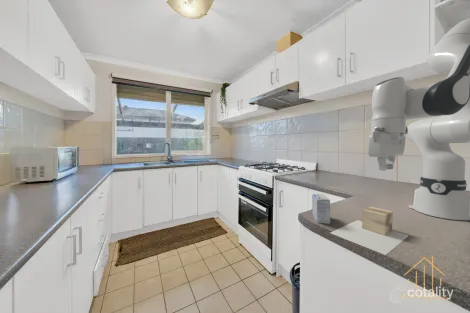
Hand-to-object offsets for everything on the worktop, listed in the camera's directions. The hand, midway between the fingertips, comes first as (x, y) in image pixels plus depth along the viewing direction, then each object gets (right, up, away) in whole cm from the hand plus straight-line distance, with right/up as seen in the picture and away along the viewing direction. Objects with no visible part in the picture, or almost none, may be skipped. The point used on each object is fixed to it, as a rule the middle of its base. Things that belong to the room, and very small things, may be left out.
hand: (386, 169), depth 61 cm
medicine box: (-19, -19, +6) cm, 28 cm away
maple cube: (-5, -19, -3) cm, 20 cm away
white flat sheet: (-10, -19, -6) cm, 23 cm away
